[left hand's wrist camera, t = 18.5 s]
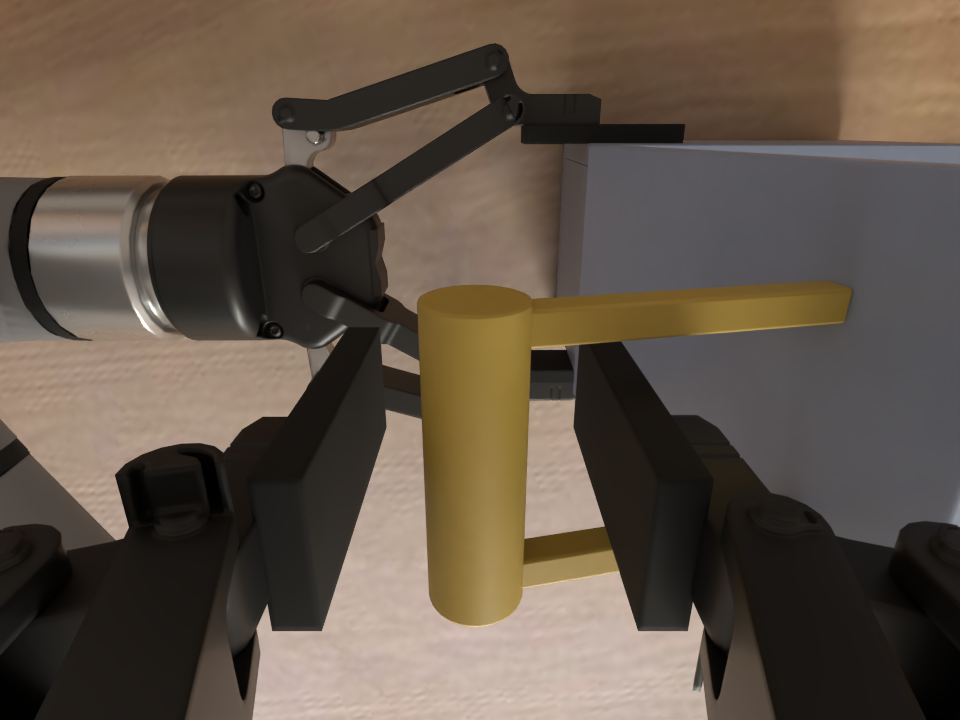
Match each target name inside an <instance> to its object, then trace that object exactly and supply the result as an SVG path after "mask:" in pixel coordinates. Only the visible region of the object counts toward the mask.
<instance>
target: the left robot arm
mask: <svg viewBox="0 0 960 720" xmlns="http://www.w3.org/2000/svg"><path fill="white" fill-rule="evenodd" d="M385 430H386V414H385V399H384V384H383V369H382V354H381V339H380V327H348V328H347V330H346V331H345V333H344V334H343V336H342V337H341V339H340V340H339V342H338V343H337V345H336V346H335V348H334V349H333V351H332V352H331V354H330V355H329V357H328V358H327V360H326V361H325V362H324V364H323V365H322V367H321V368H320V370H319V371H318V373H317V374H316V376H315V377H314V379H313V380H312V382H311V383H310V385H309V386H308V388H307V389H306V391H305V392H304V394H303V395H302V397H301V398H300V400H299V401H298V402H297V404H296V405H295V407H294V408H293V410H292V411H291V413H290V414H289V416H288V417H262V418H260V419H259V420H257V421H255V422H254V423H252V424H250V425H249V426H247V427H246V428H244V429H242V430H241V432H240V433H239V434H238V435H237V437H236V438H235V439H234V440H233V442H232V443H231V444H230V447H228V448H227V449H226V450H225V452H224V453H223V452H222V451H220V450H219V449H218V448H216V447H215V446H211V445H206V444H201V443H191V444H178V445H173V446H168V447H162V448H159V449H156V450H154V451H151V452H148V453H145V454H142V455H140V456H139V457H137V458H135V459H134V460H132V461H130V462H128V463H127V464H125V465H124V466H123V467H122V468H121V469H120V470H119V471H118V472H117V473H116V474H115V477H116V481H117V484H118V488H119V492H120V495H121V499H122V503H123V506H124V510H125V514H126V517H127V521H128V525H129V529H128V531H127V533H126V535H125V537H124V539H120V540H116V541H112V542H107V543H102V544H97V545H92V546H87V547H82V548H77V549H72V550H66V547H65V544H64V541H63V537H62V534H61V532H60V531H58V530H57V529H56V528H54V527H53V526H50V525H43V524H27V525H19V526H11V527H6V528H3V529H2V530H1V529H0V720H252V717H253V709H254V701H255V692H256V684H257V676H258V668H259V660H260V647H259V640H258V635H257V630H256V628H257V626H258V623H259V621H260V619H261V617H262V614H263V612H264V610H265V608H266V606H267V603H268V609H269V615H270V620H271V626H272V631H322V629H323V625H324V622H325V619H326V616H327V613H328V610H329V607H330V603H331V600H332V597H333V594H334V591H335V588H336V584H337V581H338V578H339V575H340V572H341V569H342V566H343V562H344V559H345V556H346V553H347V550H348V547H349V544H350V540H351V537H352V534H353V531H354V528H355V525H356V521H357V518H358V515H359V512H360V509H361V506H362V503H363V499H364V496H365V493H366V490H367V487H368V484H369V480H370V477H371V474H372V471H373V468H374V465H375V462H376V458H377V455H378V452H379V449H380V446H381V443H382V440H383V436H384V433H385ZM574 430H575V433H576V436H577V440H578V443H579V446H580V449H581V452H582V455H583V458H584V462H585V465H586V468H587V471H588V474H589V477H590V481H591V484H592V487H593V490H594V493H595V496H596V499H597V503H598V506H599V509H600V512H601V515H602V518H603V521H604V525H605V528H606V531H607V534H608V537H609V540H610V544H611V547H612V550H613V553H614V556H615V559H616V562H617V566H618V569H619V572H620V575H621V578H622V581H623V584H624V588H625V591H626V594H627V597H628V600H629V603H630V607H631V610H632V613H633V616H634V619H635V622H636V625H637V629H638V631H688V626H689V620H690V615H691V609H692V603H694V605H695V607H696V609H697V611H698V614H699V616H700V618H701V620H702V622H703V625H704V630H703V635H702V640H701V646H700V651H699V656H698V662H697V667H696V672H695V678H694V685H693V691H697V692H701V687H702V682H703V683H704V691H705V699H706V707H707V715H708V720H960V527H958V525H954V524H949V523H940V522H931V521H920V522H913V523H908V524H907V525H906V526H904V527H903V528H902V529H900V531H899V534H898V537H897V541H896V544H895V547H894V548H891V547H886V546H881V545H876V544H871V543H866V542H861V541H856V540H851V539H846V538H842V537H838V536H835V534H834V532H833V530H832V528H831V526H830V525H829V524H828V522H827V521H826V520H825V519H824V518H823V516H822V515H821V514H819V513H818V512H816V511H815V510H813V509H812V508H810V507H809V506H808V505H806V504H804V503H801V502H799V501H797V500H794V499H792V498H789V497H787V496H783V495H778V494H774V493H770V491H769V490H768V489H767V488H766V486H765V485H764V484H763V483H762V481H761V480H760V479H759V478H758V476H757V475H756V474H755V473H754V471H753V470H752V469H751V468H750V467H749V465H748V464H747V463H746V462H745V460H744V459H743V458H740V454H739V453H738V452H737V450H736V449H735V448H734V447H733V445H730V442H729V440H728V439H727V438H726V437H725V436H724V434H723V433H722V432H721V431H720V429H719V428H718V427H716V426H715V425H713V424H711V423H710V422H708V421H706V420H705V419H703V418H702V417H700V416H698V415H671V414H670V413H669V411H668V410H667V408H666V407H665V405H664V404H663V402H662V401H661V400H660V398H659V397H658V395H657V394H656V392H655V391H654V389H653V388H652V386H651V385H650V383H649V382H648V380H647V379H646V377H645V376H644V374H643V373H642V371H641V370H640V368H639V367H638V365H637V364H636V362H635V361H634V360H633V358H632V357H631V355H630V354H629V352H628V351H627V349H626V348H625V346H624V345H623V343H622V342H621V341H618V342H606V343H594V344H582V345H579V354H578V369H577V384H576V399H575V414H574Z"/></svg>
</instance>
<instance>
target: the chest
mask: <svg viewBox="0 0 960 720" xmlns="http://www.w3.org/2000/svg"><path fill="white" fill-rule="evenodd" d="M590 145H624V146H642V147H660V148H678V149H696V150H714V151H733V152H751V153H769V154H787V155H805V156H823V157H841V158H859V159H877V160H895V161H913V162H931V163H950V164H960V144H953V143H919V142H885V141H851V140H683V143H589V144H564V151H563V170H562V190H561V209H560V229H559V248H558V268H557V287H556V298H557V297H573V296H579V295H580V280H581V265H582V250H583V235H584V220H585V205H586V190H587V175H588V160H589V147H590ZM565 347H566V350H567V353H568V355H569V358H570V361H571V364H572V367H573V369H575V354H576V345H570V346H565Z"/></svg>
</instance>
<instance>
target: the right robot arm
mask: <svg viewBox="0 0 960 720" xmlns="http://www.w3.org/2000/svg"><path fill="white" fill-rule="evenodd" d="M481 86H485V89H486V92H487V95H488V98H489V101H490V104H489V105H487V106H486V107H484V108H483V109H481V110H480V111H478V112H477V113H475V114H474V115H472V116H470V117H469V118H467V119H466V120H464V121H463V122H461V123H460V124H458V125H457V126H455V127H453V128H452V129H450V130H449V131H447V132H446V133H444V134H443V135H441V136H440V137H438V138H436V139H435V140H433V141H432V142H430V143H429V144H427V145H426V146H424V147H423V148H421V149H420V150H418V151H416V152H415V153H413V154H412V155H410V156H409V157H407V158H406V159H404V160H403V161H401V162H399V163H398V164H396V165H395V166H393V167H392V168H390V169H389V170H387V171H386V172H384V173H382V174H381V175H379V176H378V177H376V178H375V179H373V180H371V181H370V182H368V183H367V184H365V185H363V186H362V187H360V188H359V189H357V190H356V191H354V192H353V193H351V192H350V191H348V190H347V189H346V188H344V187H343V186H341V185H340V184H338V183H337V182H336V181H334V180H333V179H331V178H330V177H329V176H327V175H326V174H324V173H323V172H321V171H320V170H319V169H317V168H316V167H314V166H313V160H314V158H315V156H316V155H317V153H319V152H321V151H324V150H328V149H330V148H332V147H333V145H334V144H335V141H336V131H345V130H352V129H355V128H359V127H362V126H365V125H368V124H371V123H374V122H377V121H380V120H383V119H386V118H389V117H392V116H395V115H398V114H401V113H404V112H407V111H410V110H413V109H416V108H419V107H422V106H425V105H428V104H431V103H434V102H437V101H440V100H442V99H445V98H448V97H451V96H454V95H457V94H460V93H463V92H466V91H469V90H472V89H475V88H478V87H481ZM600 108H601V99H599V98H597V97H595V96H592V95H590V94H528V93H526V92H524V91H522V90H521V89H520V88H519V87H518V85H517V83H516V81H515V78H514V75H513V72H512V69H511V65H510V62H509V56H508V53H507V51H506V49H505V48H503V47H502V46H501V45H499V44H496V43H495V44H489V45H486V46H483V47H480V48H477V49H474V50H471V51H468V52H465V53H462V54H460V55H457V56H454V57H451V58H448V59H445V60H442V61H439V62H436V63H433V64H431V65H428V66H425V67H422V68H419V69H416V70H413V71H410V72H407V73H404V74H402V75H399V76H396V77H393V78H390V79H387V80H384V81H381V82H378V83H375V84H372V85H370V86H367V87H364V88H361V89H358V90H355V91H352V92H349V93H346V94H343V95H341V96H338V97H335V98H332V99H329V100H317V99H299V98H281V99H279V100H277V101H276V102H275V104H274V105H273V108H272V115H273V119H274V121H275V122H276V124H277V125H278V126H280V127H281V128H282V129H283V143H284V158H285V166H284V167H282V168H280V169H279V170H277V171H276V172H274V173H272V174H269V175H216V176H178V177H175V178H174V179H172V180H168V179H166V178H164V177H162V176H68V177H52V178H18V177H0V344H3V343H8V342H15V341H62V340H88V341H91V340H139V341H173V340H179V339H181V338H183V337H185V336H186V337H188V338H190V339H192V340H273V339H284V340H288V341H292V342H294V343H297V344H298V345H300V346H302V347H305V348H307V352H308V357H309V363H310V368H311V374H312V380H313V379H314V377H315V376H316V374H317V373H318V371H319V370H320V368H321V367H322V365H323V364H324V362H325V361H326V360H327V358H328V357H329V355H330V354H331V352H332V351H333V349H334V348H335V347H334V346H333V345H332V342H333V341H334V340H335V339H337V338H338V337H339V336H341V335H342V334H344V333H345V331H346V330H347V328H348V327H380V339H381V344H389V345H391V346H393V347H395V348H396V349H398V350H400V351H402V352H404V353H406V354H408V355H410V356H411V357H413V358H415V359H417V360H419V336H418V315H417V314H415V313H413V312H412V311H410V310H408V309H406V308H405V307H404V306H403V305H402V303H400V302H399V301H398V300H396V299H394V298H392V297H391V296H389V295H387V294H385V291H386V289H387V287H388V278H387V270H386V267H385V264H384V261H383V258H382V251H383V246H384V241H385V230H384V223H381V220H380V218H379V216H378V214H377V212H379V211H380V210H382V209H383V208H385V207H386V206H388V205H389V204H391V203H392V202H394V201H395V200H397V199H399V198H400V197H402V196H403V195H405V194H406V193H408V192H410V191H411V190H413V189H414V188H416V187H417V186H419V185H421V184H422V183H424V182H425V181H427V180H429V179H430V178H432V177H433V176H435V175H436V174H438V173H440V172H441V171H443V170H444V169H446V168H447V167H449V166H451V165H452V164H454V163H455V162H457V161H458V160H460V159H462V158H463V157H465V156H466V155H468V154H470V153H471V152H473V151H474V150H476V149H477V148H479V147H481V146H482V145H484V144H485V143H487V142H488V141H490V140H492V139H493V138H495V137H496V136H498V135H499V134H501V133H503V132H504V131H506V130H507V129H509V128H511V127H512V126H521V143H524V144H589V143H683V138H684V129H685V124H599V123H600ZM419 361H420V360H419ZM382 369H383V384H384V399H385V409H386V410H390V411H394V412H397V413H401V414H405V415H409V416H413V417H416V418H420V419H422V409H421V385H420V375H417V374H414V373H410V372H406V371H403V370H399V369H395V368H392V367H388V366H384V365H382ZM312 380H311V382H312ZM311 382H310V383H311ZM310 383H309V385H310ZM573 384H574V369H573V367H572V364H571V361H570V358H569V355H568V353H567V350H531V367H530V394H529V400H573V399H575V398H576V396H575V395H574V394H573ZM309 385H308V386H309ZM307 388H308V387H307ZM27 524H43V525H50V526H53V527H54V528H56V529H57V530H58V531H60V532H61V534H62V537H63V541H64V544H65V547H66V550H72V549H77V548H82V547H87V546H92V545H97V544H102V543H107V542H112V541H116V540H115V539H114V538H113V537H112V536H111V535H110V534H109V533H108V532H107V531H106V530H105V529H104V528H103V527H102V526H101V525H100V524H99V523H98V522H97V521H96V520H95V519H94V518H93V517H92V516H91V515H90V514H89V513H88V512H87V511H86V510H85V509H84V508H83V507H82V506H81V505H80V504H79V503H78V502H77V501H76V500H75V499H74V498H73V497H72V496H71V495H70V494H69V493H68V492H67V491H66V490H65V489H64V488H63V487H62V486H61V485H60V484H59V483H58V482H57V481H56V480H55V479H54V478H53V477H52V476H51V475H50V474H49V473H48V472H47V471H46V470H45V469H44V468H43V467H42V466H41V465H40V464H39V463H38V462H37V461H36V460H35V459H34V458H33V457H32V456H31V454H30V452H29V451H28V449H27V448H26V447H25V446H24V445H23V444H22V443H21V442H20V441H19V440H18V439H17V436H16V435H15V434H14V433H13V432H12V431H11V430H10V429H9V428H8V427H7V426H6V425H5V424H4V423H3V422H2V420H1V419H0V529H1V530H2V529H3V528H6V527H11V526H19V525H27Z"/></svg>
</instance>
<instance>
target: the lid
mask: <svg viewBox="0 0 960 720" xmlns="http://www.w3.org/2000/svg"><path fill="white" fill-rule="evenodd" d="M417 312H418V336H419V360H420V385H421V409H422V433H423V458H424V482H425V506H426V531H427V555H428V579H429V596H430V600H431V602H432V604H433V606H434V607H435V609H436V610H437V611H438V612H439V613H440V614H441V615H442V616H443V617H444V618H446V619H448V620H449V621H451V622H454V623H456V624H460V625H464V626H472V627H479V626H487V625H491V624H495V623H497V622H500V621H502V620H504V619H505V618H507V617H508V616H509V615H511V614H512V613H513V612H514V610H515V609H516V608H517V606H518V605H519V603H520V601H521V598H522V589H523V588H528V587H534V586H540V585H546V584H551V583H557V582H563V581H569V580H574V579H580V578H586V577H592V576H598V575H603V574H609V573H615V572H619V569H618V566H617V562H616V559H615V556H614V553H613V550H612V547H611V544H610V540H609V537H608V534H607V531H606V528H605V527H599V528H593V529H586V530H580V531H573V532H567V533H560V534H554V535H547V536H541V537H534V538H528V539H524V533H525V505H526V478H527V450H528V422H529V394H530V367H531V349H533V348H545V347H558V346H570V345H576V354H575V369H574V384H573V394H574V395H575V396H576V384H577V369H578V354H579V345H582V344H594V343H606V342H618V341H621V342H622V343H623V345H624V346H625V348H626V349H627V351H628V352H629V354H630V355H631V357H632V358H633V360H634V361H635V362H636V364H637V365H638V367H639V368H640V370H641V371H642V373H643V374H644V376H645V377H646V379H647V380H648V382H649V383H650V385H651V386H652V388H653V389H654V391H655V392H656V394H657V395H658V397H659V398H660V400H661V401H662V402H663V404H664V405H665V407H666V408H667V410H668V411H669V413H670V414H671V415H698V416H700V417H702V418H703V419H705V420H706V421H708V422H710V423H711V424H713V425H715V426H716V427H718V428H719V429H720V431H721V432H722V433H723V434H724V436H725V437H726V438H727V439H728V440H729V442H730V445H733V447H734V448H735V449H736V450H737V452H738V453H739V454H740V458H743V459H744V460H745V462H746V463H747V464H748V465H749V467H750V468H751V469H752V470H753V471H754V473H755V474H756V475H757V476H758V478H759V479H760V480H761V481H762V483H763V484H764V485H765V486H766V488H767V489H768V490H769V491H770V493H774V494H778V495H783V496H787V497H789V498H792V499H794V500H797V501H799V502H801V503H804V504H806V505H808V506H809V507H810V508H812V509H813V510H815V511H816V512H818V513H819V514H821V515H822V516H823V518H824V519H825V520H826V521H827V522H828V524H829V525H830V526H831V528H832V530H833V532H834V534H835V536H838V537H842V538H846V539H851V540H856V541H861V542H866V543H871V544H876V545H881V546H886V547H891V548H894V547H895V544H896V541H897V537H898V534H899V531H900V529H902V528H903V527H904V526H906V525H907V524H908V523H913V522H920V521H931V522H940V523H949V524H954V525H958V527H960V164H950V163H931V162H913V161H895V160H877V159H859V158H841V157H823V156H805V155H787V154H769V153H751V152H733V151H714V150H696V149H678V148H660V147H642V146H624V145H590V147H589V160H588V175H587V190H586V205H585V220H584V235H583V250H582V265H581V280H580V295H579V296H573V297H557V298H541V299H531V298H530V297H529V296H528V295H527V294H525V293H523V292H520V291H517V290H514V289H510V288H505V287H499V286H489V285H462V286H451V287H445V288H440V289H436V290H433V291H430V292H428V293H425V294H424V295H422V296H421V297H420V298H419V299H418V302H417Z"/></svg>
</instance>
